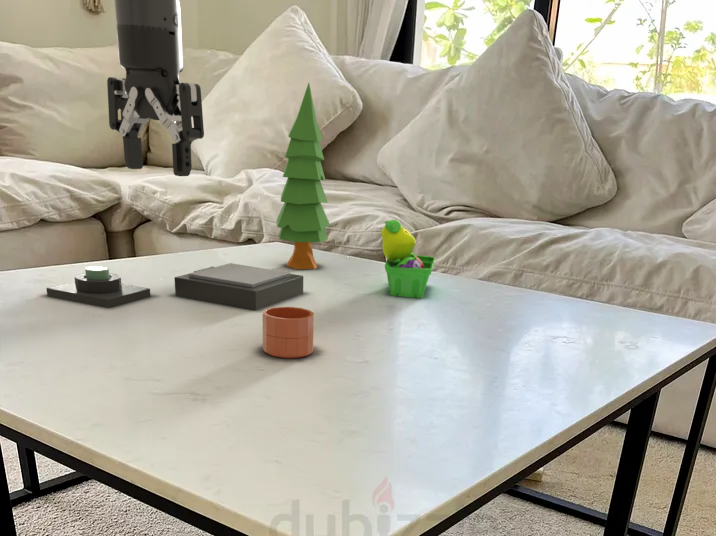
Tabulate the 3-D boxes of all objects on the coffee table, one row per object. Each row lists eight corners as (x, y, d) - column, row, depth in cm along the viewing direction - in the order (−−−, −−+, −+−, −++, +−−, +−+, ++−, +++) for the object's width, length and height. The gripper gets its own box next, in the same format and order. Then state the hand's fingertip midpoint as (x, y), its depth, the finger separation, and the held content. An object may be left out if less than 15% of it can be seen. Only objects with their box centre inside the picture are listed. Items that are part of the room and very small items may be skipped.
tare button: (81, 279, 111) (80, 268, 111) (97, 276, 114) (96, 265, 113) (99, 282, 110) (97, 271, 110) (114, 279, 113) (113, 268, 112)
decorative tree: (330, 265, 147) (336, 83, 133) (324, 275, 138) (329, 82, 124) (279, 261, 147) (280, 79, 133) (269, 270, 138) (269, 78, 125)
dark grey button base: (47, 297, 111) (44, 276, 110) (92, 287, 119) (89, 267, 117) (108, 309, 108) (106, 287, 106) (150, 298, 115) (149, 277, 114)
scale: (175, 297, 116) (173, 273, 115) (228, 282, 128) (227, 260, 126) (255, 312, 112) (255, 287, 110) (303, 295, 123) (303, 272, 122)
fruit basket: (429, 302, 125) (436, 227, 119) (374, 297, 125) (378, 223, 120) (432, 287, 135) (438, 218, 130) (381, 283, 135) (385, 214, 130)
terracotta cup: (253, 355, 93) (252, 313, 91) (279, 344, 98) (279, 304, 96) (297, 364, 91) (297, 322, 89) (321, 352, 96) (322, 311, 94)
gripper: (83, 20, 93) (97, 167, 101) (168, 22, 87) (176, 179, 95) (132, 27, 99) (141, 166, 107) (215, 29, 93) (219, 177, 100)
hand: (158, 172), depth 101 cm, fingers open, 8 cm apart
